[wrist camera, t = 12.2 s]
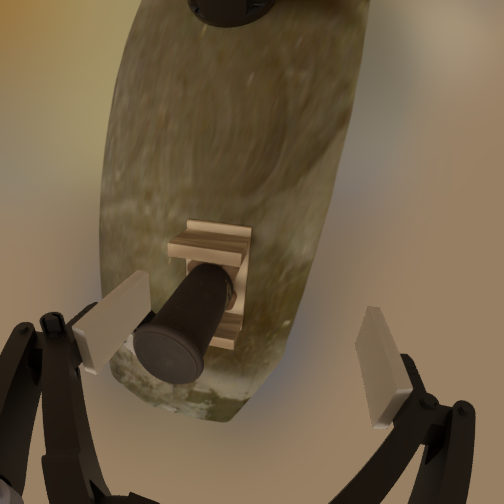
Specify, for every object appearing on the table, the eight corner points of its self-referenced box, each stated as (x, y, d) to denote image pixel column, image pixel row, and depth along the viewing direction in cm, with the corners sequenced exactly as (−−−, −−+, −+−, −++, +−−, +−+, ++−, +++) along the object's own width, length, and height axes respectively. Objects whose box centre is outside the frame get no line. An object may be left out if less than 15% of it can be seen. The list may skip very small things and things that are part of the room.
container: (200, 314, 50) (155, 392, 31) (177, 270, 48) (115, 337, 29) (244, 301, 48) (213, 386, 29) (221, 254, 45) (172, 323, 27)
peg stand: (189, 219, 49) (167, 233, 40) (252, 226, 47) (242, 243, 39) (188, 316, 55) (171, 343, 47) (242, 327, 54) (232, 356, 46)
